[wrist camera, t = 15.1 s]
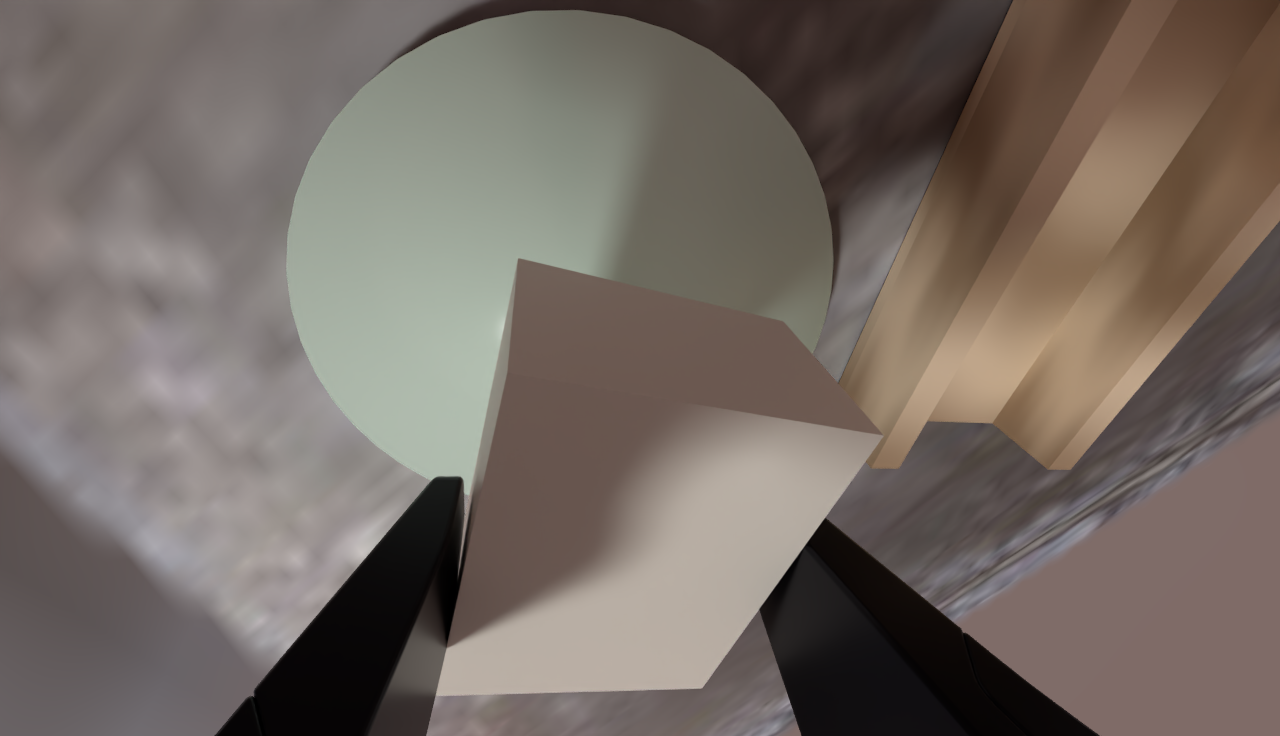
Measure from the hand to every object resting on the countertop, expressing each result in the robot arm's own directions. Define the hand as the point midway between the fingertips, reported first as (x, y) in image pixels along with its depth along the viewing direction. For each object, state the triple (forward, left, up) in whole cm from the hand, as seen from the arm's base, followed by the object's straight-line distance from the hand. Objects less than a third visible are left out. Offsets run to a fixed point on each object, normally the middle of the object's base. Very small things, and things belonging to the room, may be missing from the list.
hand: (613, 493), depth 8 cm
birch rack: (-4, +13, -7) cm, 15 cm away
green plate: (0, 0, -7) cm, 7 cm away
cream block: (0, 0, -1) cm, 1 cm away
